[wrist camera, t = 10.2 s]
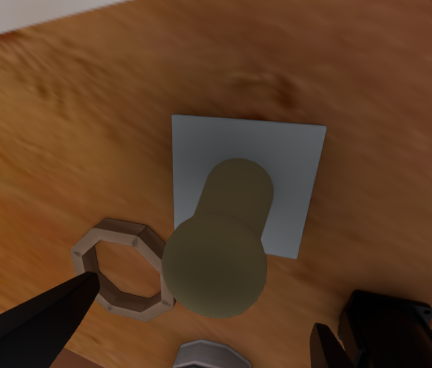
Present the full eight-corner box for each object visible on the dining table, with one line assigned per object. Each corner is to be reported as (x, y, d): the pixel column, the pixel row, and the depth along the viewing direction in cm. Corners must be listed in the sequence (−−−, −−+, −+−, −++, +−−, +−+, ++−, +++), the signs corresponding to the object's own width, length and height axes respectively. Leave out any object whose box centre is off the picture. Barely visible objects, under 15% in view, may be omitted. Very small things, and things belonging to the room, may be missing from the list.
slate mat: (324, 125, 17) (327, 126, 16) (295, 253, 22) (296, 259, 21) (175, 114, 19) (171, 114, 19) (177, 232, 24) (174, 236, 23)
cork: (209, 151, 19) (141, 214, 9) (282, 165, 18) (295, 253, 8) (201, 213, 21) (140, 317, 11) (265, 228, 20) (259, 356, 10)
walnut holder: (179, 231, 24) (171, 242, 22) (180, 314, 28) (174, 329, 27) (77, 213, 26) (63, 222, 24) (94, 293, 31) (83, 305, 29)
